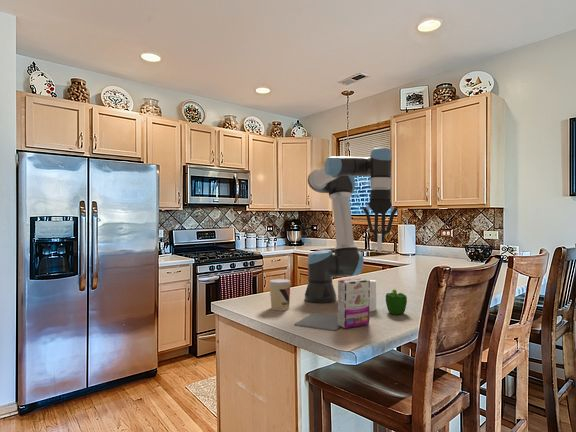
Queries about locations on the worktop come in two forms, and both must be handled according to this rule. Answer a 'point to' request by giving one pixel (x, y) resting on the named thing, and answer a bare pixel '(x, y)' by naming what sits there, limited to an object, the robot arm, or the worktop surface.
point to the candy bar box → (353, 302)
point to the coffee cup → (280, 293)
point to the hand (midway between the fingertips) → (379, 251)
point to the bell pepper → (396, 302)
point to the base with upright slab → (372, 296)
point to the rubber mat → (320, 321)
